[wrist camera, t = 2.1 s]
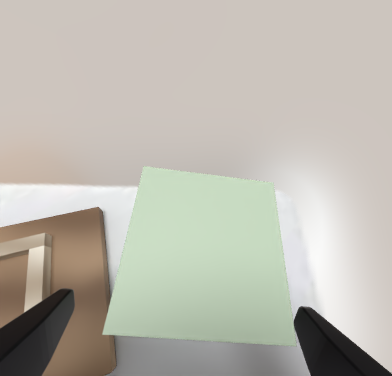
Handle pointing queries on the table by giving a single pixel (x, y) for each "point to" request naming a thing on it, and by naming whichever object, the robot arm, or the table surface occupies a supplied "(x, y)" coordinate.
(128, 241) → the pillar
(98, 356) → the base board
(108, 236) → the table surface
